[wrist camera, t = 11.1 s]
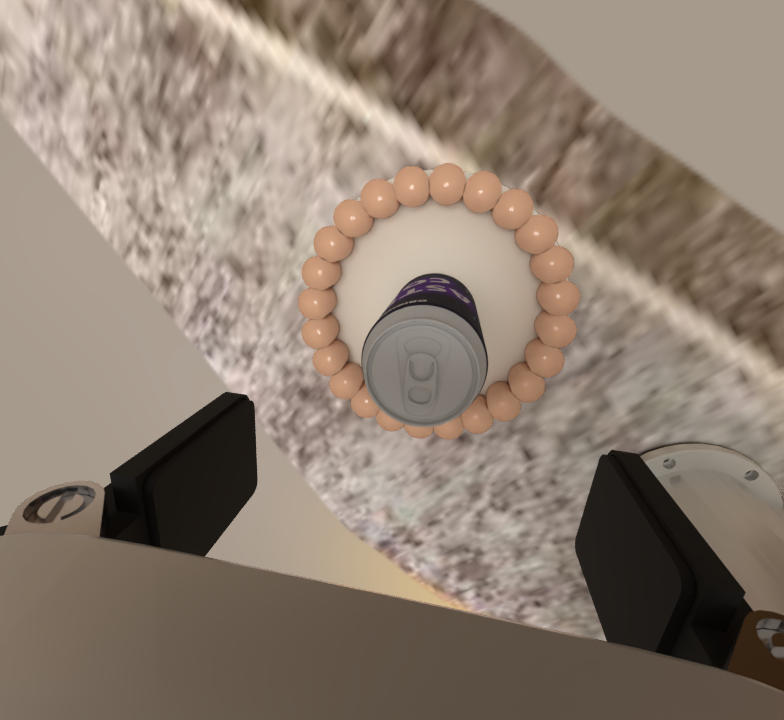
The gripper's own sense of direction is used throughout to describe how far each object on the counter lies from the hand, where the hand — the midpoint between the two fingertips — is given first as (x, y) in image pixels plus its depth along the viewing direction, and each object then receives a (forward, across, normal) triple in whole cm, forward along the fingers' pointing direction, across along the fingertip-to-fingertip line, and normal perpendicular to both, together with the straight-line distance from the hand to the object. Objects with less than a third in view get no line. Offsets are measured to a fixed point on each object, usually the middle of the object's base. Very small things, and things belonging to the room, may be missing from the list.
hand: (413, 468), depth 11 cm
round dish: (+19, +1, 0) cm, 19 cm away
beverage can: (+18, +1, 0) cm, 18 cm away
